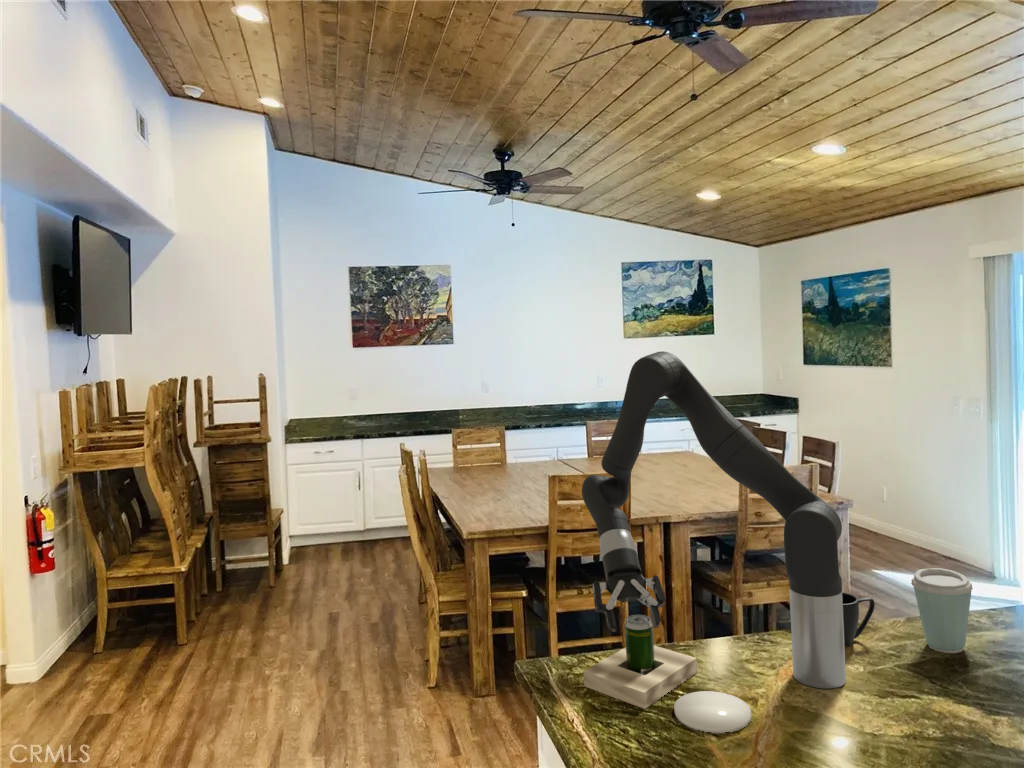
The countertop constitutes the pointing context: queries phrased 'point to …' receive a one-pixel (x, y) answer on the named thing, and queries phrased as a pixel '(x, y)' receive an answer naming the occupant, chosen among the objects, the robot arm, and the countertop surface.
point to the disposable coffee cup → (943, 607)
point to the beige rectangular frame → (640, 676)
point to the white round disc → (712, 712)
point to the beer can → (639, 644)
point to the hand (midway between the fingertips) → (635, 628)
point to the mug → (854, 616)
